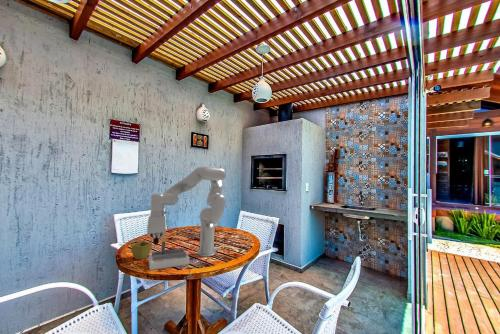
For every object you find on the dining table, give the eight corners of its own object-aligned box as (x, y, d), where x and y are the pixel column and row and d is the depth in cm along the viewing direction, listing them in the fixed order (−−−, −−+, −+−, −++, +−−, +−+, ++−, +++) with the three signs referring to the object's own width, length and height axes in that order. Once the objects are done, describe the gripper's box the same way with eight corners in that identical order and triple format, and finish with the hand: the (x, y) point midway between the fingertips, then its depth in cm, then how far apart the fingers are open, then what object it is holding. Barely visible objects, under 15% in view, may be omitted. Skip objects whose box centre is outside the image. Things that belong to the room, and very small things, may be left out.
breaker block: (184, 256, 147) (185, 246, 147) (189, 264, 134) (189, 253, 135) (148, 261, 136) (149, 251, 137) (149, 270, 124) (150, 258, 124)
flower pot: (141, 254, 147) (142, 241, 148) (151, 256, 144) (152, 243, 145) (130, 259, 139) (130, 244, 140) (140, 261, 136) (141, 246, 136)
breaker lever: (165, 254, 137) (166, 234, 138) (166, 257, 132) (167, 237, 133) (158, 255, 136) (159, 235, 136) (159, 258, 130) (160, 237, 131)
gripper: (169, 212, 140) (168, 241, 139) (143, 213, 133) (141, 244, 132) (171, 214, 133) (169, 245, 132) (143, 215, 126) (142, 248, 125)
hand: (155, 244), depth 132 cm, fingers closed
